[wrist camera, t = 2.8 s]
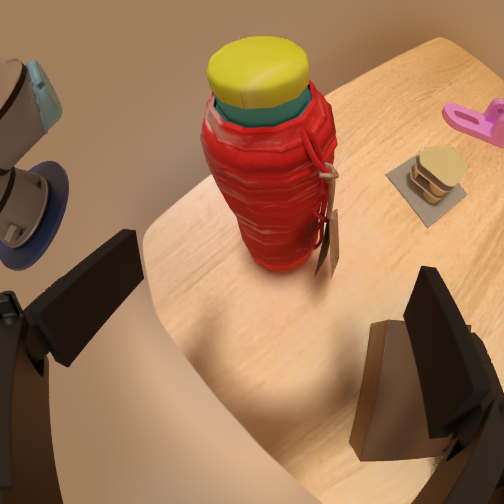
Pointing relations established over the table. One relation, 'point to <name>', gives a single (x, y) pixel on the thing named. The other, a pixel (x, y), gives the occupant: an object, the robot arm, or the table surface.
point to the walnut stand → (392, 401)
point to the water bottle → (272, 150)
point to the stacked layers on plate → (431, 181)
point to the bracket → (478, 121)
